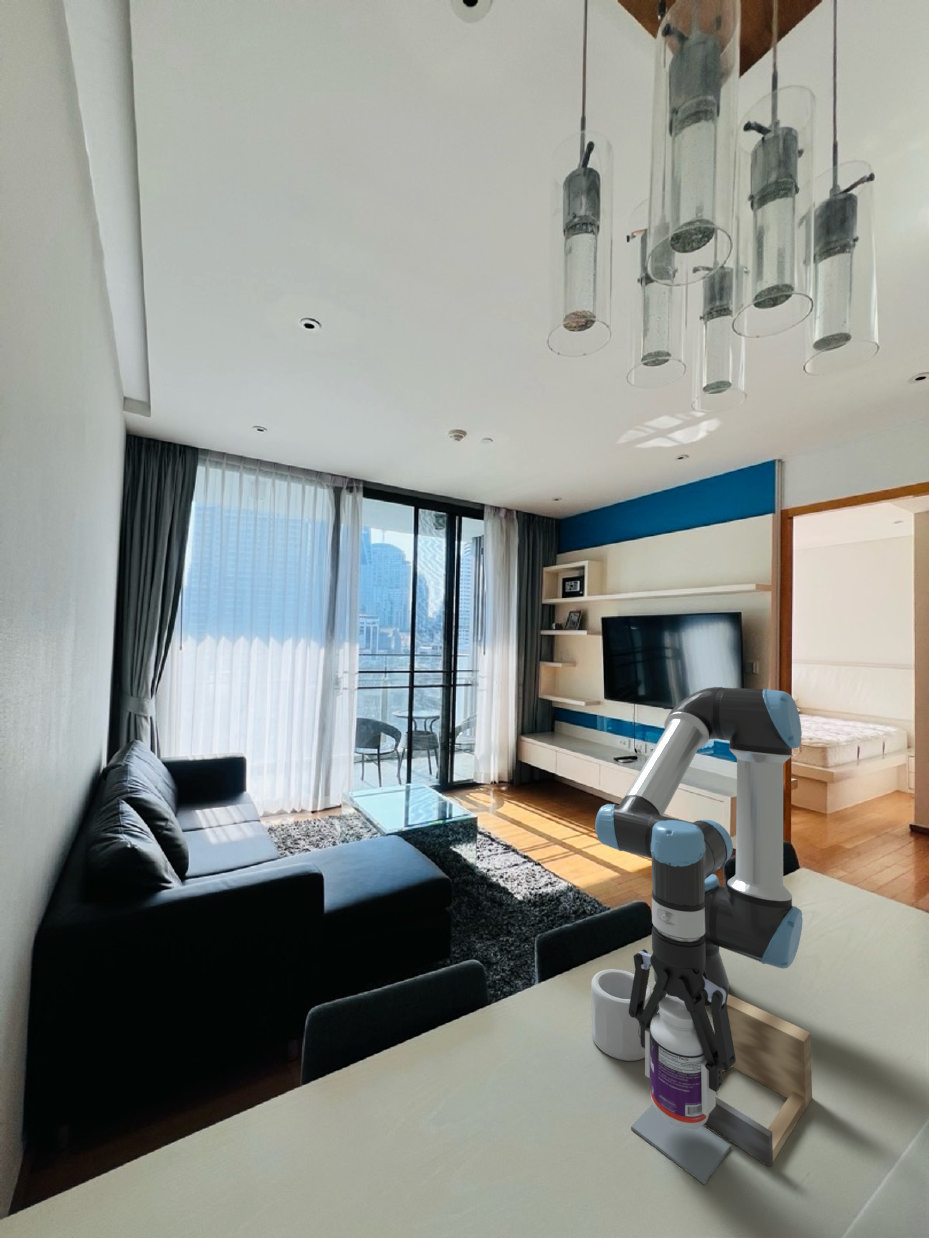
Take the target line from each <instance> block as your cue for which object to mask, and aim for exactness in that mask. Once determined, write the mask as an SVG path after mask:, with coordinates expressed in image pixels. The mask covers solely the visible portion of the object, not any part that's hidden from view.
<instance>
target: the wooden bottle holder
mask: <svg viewBox="0 0 929 1238" xmlns="http://www.w3.org/2000/svg"><path fill="white" fill-rule="evenodd" d="M726 1005H727V1011H728V1017H729V1022H730V1028H731V1034H732V1040H733V1046H734V1052H735V1058H736V1062H735V1063H734V1064H733V1065H732V1066H731V1068H734V1069H736V1070H737V1071H739V1072H740V1073H743V1074H744V1075H745V1076H748V1077H750V1078H751V1079H753V1080H755V1081H756V1082H757V1083H760V1084H762V1085H764V1086H765V1087H767V1088H768V1089H770V1090H772V1091H775V1092H776V1093H777V1094H780V1095H781V1096H782V1097H784V1098H786V1101H785V1102H784V1104H782V1106H781V1108H780V1109H779V1111H778V1113H777V1114H776V1116H775V1117H774V1119H773V1120H772V1122H771V1123H770V1124H769V1126H768V1127H765V1126H764V1125H762V1124H761V1123H759V1122H757V1121H756V1120H754V1119H752V1118H751V1117H750V1116H747V1115H746V1114H744V1113H743V1112H741V1111H740V1110H738V1109H736V1108H735V1107H733V1106H731V1104H728V1103H727V1102H725V1101H723V1100H722V1099H720V1098H718V1097H717V1096H716V1106H715V1107H714V1109H713V1110H712V1111H711V1112H710V1113H709V1116H708V1120H707V1121H706V1123H705V1124H704V1125H705V1126H707V1127H709V1128H711V1129H712V1130H713V1131H714V1132H716V1133H718V1134H719V1135H720V1136H721V1137H724V1138H725V1139H726V1140H728V1141H730V1142H731V1143H732V1144H734V1145H736V1146H737V1147H739V1148H740V1149H741V1150H743V1151H745V1152H746V1153H747V1154H749V1155H750V1156H752V1157H754V1158H755V1159H756V1160H758V1161H760V1162H761V1163H762V1164H764V1165H766V1166H767V1167H768V1168H770V1167H771V1165H773V1163H774V1161H775V1160H776V1158H777V1156H778V1154H779V1153H780V1152H781V1150H782V1148H783V1146H784V1144H785V1143H786V1142H787V1140H788V1138H789V1137H790V1135H791V1133H792V1131H793V1130H794V1129H795V1127H796V1125H797V1124H798V1122H799V1120H800V1118H801V1117H802V1115H803V1113H804V1112H805V1111H806V1109H807V1107H809V1106H808V1105H809V1104H810V1103H811V1101H812V1099H813V1079H812V1078H813V1076H812V1073H813V1072H812V1071H813V1070H812V1041H811V1040H812V1034H811V1032H810V1031H808V1030H805V1029H803V1028H801V1027H799V1026H797V1025H796V1024H793V1023H791V1022H789V1021H787V1020H784V1019H782V1018H780V1017H778V1016H775V1015H773V1014H771V1013H770V1012H768V1011H766V1010H763V1009H760V1008H759V1007H757V1006H755V1005H753V1004H750V1003H748V1002H746V1001H744V1000H742V999H740V998H738V997H735V996H733V995H731V994H730V993H729V994H728V998H727V1004H726ZM723 1072H725V1071H724V1070H723V1069H722V1068H721V1073H723Z"/></svg>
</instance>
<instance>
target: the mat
mask: <svg viewBox="0 0 929 1238" xmlns="http://www.w3.org/2000/svg"><path fill="white" fill-rule="evenodd" d="M630 1130H632V1131H633V1132H634V1133H635V1134H637V1135H638V1136H640V1138H642V1139H643V1140H645V1141H646V1142H647V1143H648V1144H650V1145H652V1147H654V1148H656V1149H657V1150H658V1151H659V1152H660V1153H662V1154H663V1155H664V1156H665V1157H667V1158H669V1159H670V1160H671V1162H673V1163H675V1164H676V1165H677V1166H679V1167H680V1168H682V1169H683V1170H684V1171H686V1172H687V1173H688V1174H689V1175H691V1176H692V1177H694V1178H695V1179H696V1180H697V1181H699V1182H700V1183H701V1184H703V1185H705V1184H706V1183H707V1182H708V1181H709V1179H710V1177H711V1176H712V1174H713V1173H714V1172H715V1170H716V1169H717V1168H718V1166H719V1165H720V1163H721V1162H722V1160H723V1159H724V1158H725V1156H727V1153H728V1152H729V1151H730V1149H731V1148H732V1147H731V1145H732V1144H730V1143H728V1142H727V1141H725V1140H724V1139H723V1138H721V1137H720V1136H718V1135H716V1134H715V1133H714V1132H712V1131H711V1130H710V1129H708V1128H706V1127H705V1126H704V1125H703V1126H701V1127H699V1128H697V1129H685V1128H681V1127H678V1126H675V1125H673V1124H671V1123H669V1122H668V1121H666V1120H665V1119H664V1118H663V1117H661V1116H660V1115H659V1113H658V1112H657V1111H656V1109H655V1108H654V1106H653V1103H651V1105H650V1106H649V1107H648V1108H647V1109H646V1110H645V1111H644V1112H643V1113H642V1114H641V1115H640V1116H639V1118H637V1119H636V1120H635V1121H634V1123H633V1124H632V1125H630Z"/></svg>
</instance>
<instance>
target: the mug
mask: <svg viewBox="0 0 929 1238" xmlns="http://www.w3.org/2000/svg"><path fill="white" fill-rule="evenodd" d="M634 974H635V973H632V972H630V971H627V970H621V969H613V968H611V969H603V970H601V971H599V972H597V973H595V974H594V976H593V977H592V979H591V984H590V985H591V986H590V987H591V988H590V990H591V992H590V993H591V994H590V995H591V996H590V997H591V999H590V1001H591V1002H590V1003H591V1004H590V1007H591V1008H590V1009H591V1010H590V1011H591V1013H590V1021H591V1023H590V1028H591V1030H590V1031H591V1032H590V1033H591V1038H592V1040H593V1043H594V1044H595V1045H596V1046H597V1047H598V1048H599V1049H600V1050H601V1051H602V1052H603V1053H604V1054H606V1055H608V1056H610V1057H612V1058H614V1059H617V1060H621V1061H625V1062H626V1061H627V1062H634V1061H640V1060H643V1059H645V1049H644V1048H643V1047H642V1046H641V1043H640V1039H641V1038H640V1024H639V1021H638V1020H637V1019H636V1018H635V1017H634V1018H632V1017H631V1016H630V1015H629V1005H630V999H631V993H632V986H633V980H634ZM651 994H652V989H651V987H650V986H649V984H648V985H647V991H646V997H645V1003H644V1009H645V1007H646V1005H647V1003H648V1000H649V998H650V996H651Z"/></svg>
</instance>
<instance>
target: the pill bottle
mask: <svg viewBox="0 0 929 1238" xmlns="http://www.w3.org/2000/svg"><path fill="white" fill-rule="evenodd" d="M705 1059H706V1058H705V1055H704V1052H703V1050H702V1047H701V1044H700V1041H699V1038H698V1035H697V1032H696V1029H695V1026H694V1023H693V1020H692V1017H691V1014H690V1012H689V1011H687V1009H686V1006H685V1003H684V1001H682V1000H680V999H679V998H678V997H674V996H672V995H669V996H665V997H664V998H662V999H661V1000H660V1002H659V1010H658V1013H657V1014H656V1015H655V1016H654V1017H653V1018H652V1021H651V1025H650V1069H651V1073H650V1078H649V1079H650V1098H651V1104H653V1106H654V1108H655V1109H656V1111H657V1112H658V1113H659V1115H660V1116H661V1117H663V1118H664V1119H665V1120H666V1121H668V1122H669V1123H671V1124H673V1125H675V1126H678V1127H681V1128H685V1129H697V1128H699V1127H701V1126H703V1127H704V1125H706V1124H705V1123H706V1121H707V1120H708V1116H709V1115H708V1116H706V1115H705V1114H703V1113H702V1083H701V1063H702V1062H703V1061H704V1060H705Z"/></svg>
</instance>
